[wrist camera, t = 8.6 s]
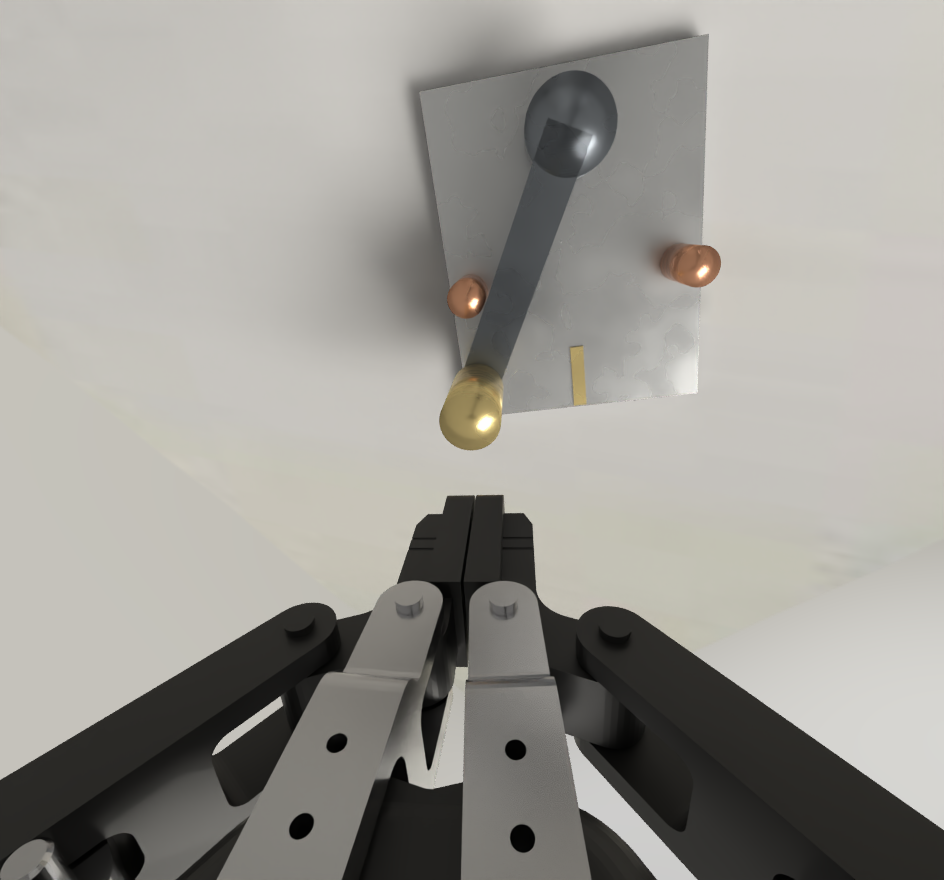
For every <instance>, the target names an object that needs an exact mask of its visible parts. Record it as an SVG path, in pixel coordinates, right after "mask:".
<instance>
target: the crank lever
mask: <svg viewBox="0 0 944 880" xmlns="http://www.w3.org/2000/svg"><path fill="white" fill-rule="evenodd" d="M617 123H618V116H617V107H616V104H615V100H614V98H613V95H612V93H611V92H610V90H609V88H608V87H607V86H606V84H605V83H604V82H603V81H602V80H601V79H599V78H598V77H596V76H595V75H593V74H591V73H588V72H585V71H579V70H570V71H565V72H562V73H559V74H557V75H555V76H553V77H551V78H550V79H549V80H547V81H546V82H545V83H544V84H543V85H542V86H541V87H540V88H539V89H538V90H537V92H536V93H535V95H534V96H533V98H532V100H531V102H530V104H529V107H528V109H527V113H526V117H525V124H524V146H525V150H526V153H527V156H528V158H529V161H530V162H531V164H532V166H531V169H530V172H529V175H528V178H527V181H526V184H525V187H524V190H523V193H522V196H521V199H520V202H519V205H518V208H517V211H516V214H515V217H514V220H513V223H512V226H511V229H510V232H509V235H508V238H507V241H506V244H505V247H504V250H503V253H502V256H501V259H500V262H499V265H498V268H497V271H496V274H495V277H494V280H493V283H492V286H491V289H490V292H489V295H488V298H487V301H486V304H485V307H484V310H483V313H482V316H481V319H480V322H479V325H478V328H477V331H476V334H475V337H474V340H473V343H472V346H471V349H470V352H469V355H468V358H467V361H466V364H465V367H464V368H462V369H461V370H460V371H459V372H458V373H457V375H456V376H455V378H454V381H453V383H452V386H451V388H450V391H449V393H448V396H447V398H446V401H445V403H444V405H443V408H442V410H441V413H440V419H439V422H440V428H441V431H442V433H443V435H444V436H445V438H446V439H447V440H448V441H449V442H450V443H451V444H453V445H454V446H456V447H458V448H460V449H464V450H478V449H482V448H484V447H486V446H488V445H489V444H491V443H492V442H493V441H494V440H495V439H496V437H497V436H498V433H499V431H500V427H501V416H502V402H503V382H502V378H503V376H504V373H505V370H506V368H507V365H508V362H509V360H510V357H511V354H512V352H513V349H514V346H515V343H516V341H517V338H518V335H519V333H520V330H521V327H522V325H523V322H524V319H525V317H526V314H527V311H528V308H529V306H530V303H531V300H532V298H533V295H534V292H535V290H536V287H537V284H538V282H539V279H540V276H541V273H542V271H543V268H544V265H545V263H546V260H547V257H548V255H549V252H550V249H551V247H552V244H553V241H554V238H555V236H556V233H557V230H558V228H559V225H560V222H561V220H562V217H563V214H564V212H565V209H566V206H567V203H568V201H569V198H570V195H571V193H572V190H573V187H574V185H575V182H576V179H578V178H580V177H582V176H584V175H586V174H587V173H589V172H590V171H591V170H592V169H594V168H595V167H596V166H597V165H598V164H599V163H600V162H601V161H602V160H603V159H604V158H605V156H606V155H607V154H608V152H609V150H610V148H611V146H612V144H613V142H614V139H615V135H616V131H617Z"/></svg>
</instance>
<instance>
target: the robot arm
mask: <svg viewBox="0 0 944 880" xmlns="http://www.w3.org/2000/svg"><path fill="white" fill-rule="evenodd" d="M468 660H469V662H468ZM456 667H468V680H466V685H465V721H464V767H463V769H464V770H463V772H464V773H463V782H462V783H458V784H453V785H449V786H445V787H440V788H435V789H434V784H435V779H436V774H437V769H438V765H439V760H440V756H441V751H442V747H443V742H444V737H445V733H446V728H447V724H448V719H449V714H450V710H451V705H452V701H453V691H452V686H453V682H454V676H455V669H456ZM279 696H281V699H282V703H283V706H282V707H281V708H280V709H278V710H277V711H275V712H274V713H273V714H271V715H270V716H269V717H267V718H266V719H264V720H263V721H262V722H260V723H259V724H258V725H256V726H255V727H253V728H252V729H251V730H250V731H248V732H247V733H245V734H244V735H243V736H241V737H240V738H238V739H237V740H236V741H234V742H233V743H232V744H230V745H229V746H228V747H226V748H225V749H223V750H222V751H221V752H219V753H217V754H215V755H213V756H212V753H213V751H214V749H215V747H216V745H217V744H218V743H219V742H220V740H221V739H222V738H223V737H224V736H226V735H227V734H228V733H229V732H231V731H232V730H234V729H235V728H236V727H238V726H239V725H241V724H242V723H243V722H245V721H246V720H248V719H249V718H250V717H252V716H253V715H255V714H256V713H257V712H259V711H260V710H262V709H263V708H264V707H266V706H267V705H269V704H270V703H271V702H273V701H274V700H276V699H277V698H278V697H279ZM565 733H566V734H569V735H571V736H574V739H575V742H576V744H577V746H578V748H579V750H580V751H581V752H582V754H583V755H584V756H585V757H586V758H587V759H588V760H589V761H590V763H591V764H592V765H593V766H594V767H595V768H596V769H597V770H598V771H599V772H600V773H601V774H602V776H604V778H605V779H606V780H607V781H608V782H609V783H610V784H611V785H612V787H613V788H614V789H615V790H616V791H617V792H618V793H619V794H620V795H621V796H622V798H624V800H625V801H626V802H627V803H628V804H629V805H630V806H631V807H632V808H633V809H634V811H635V812H636V813H637V814H638V815H639V816H640V817H641V818H642V819H643V820H644V822H646V824H647V825H648V826H649V827H650V828H651V829H652V830H653V831H654V832H655V834H656V835H657V836H658V837H659V838H660V839H661V840H662V841H663V842H664V843H665V844H666V846H667V847H668V848H669V849H670V850H671V851H672V852H673V853H674V854H675V855H676V857H678V859H679V860H680V861H681V862H682V863H683V864H684V865H685V866H686V867H687V868H688V870H689V871H690V872H691V873H692V874H693V875H694V876H695V877H696V878H697V879H698V880H944V830H943V829H941V828H940V827H938V826H937V825H936V824H934V823H933V822H931V821H930V820H929V819H927V818H925V817H924V816H923V815H921V814H920V813H918V812H917V811H916V810H914V809H913V808H912V807H910V806H909V805H907V804H906V803H904V802H903V801H901V800H900V799H899V798H897V797H896V796H894V795H893V794H892V793H890V792H889V791H887V790H886V789H884V788H883V787H881V786H880V785H879V784H877V783H876V782H875V781H873V780H872V779H870V778H869V777H867V776H866V775H864V774H863V773H862V772H860V771H859V770H857V769H856V768H855V767H853V766H852V765H850V764H849V763H847V762H846V761H845V760H843V759H842V758H840V757H839V756H838V755H836V754H834V753H833V752H832V751H830V750H829V749H828V748H826V747H825V746H823V745H822V744H820V743H819V742H817V741H816V740H815V739H813V738H812V737H811V736H809V735H808V734H806V733H805V732H803V731H802V730H801V729H799V728H798V727H796V726H795V725H793V724H792V723H791V722H789V721H788V720H786V719H785V718H784V717H782V716H781V715H779V714H778V713H776V712H775V711H774V710H772V709H771V708H769V707H768V706H766V705H765V704H764V703H762V702H761V701H759V700H758V699H757V698H755V697H754V696H752V695H751V694H749V693H748V692H747V691H745V690H744V689H742V688H741V687H739V686H738V685H736V684H735V683H734V682H732V681H731V680H730V679H728V678H727V677H725V676H724V675H722V674H721V673H720V672H718V671H717V670H715V669H714V668H712V667H711V666H710V665H708V664H707V663H705V662H704V661H703V660H701V659H700V658H698V657H697V656H695V655H694V654H693V653H691V652H690V651H688V650H687V649H685V648H684V647H683V646H681V645H680V644H678V643H677V642H676V641H674V640H673V639H671V638H670V637H668V636H667V635H666V634H664V633H663V632H661V631H660V630H658V629H657V628H656V627H654V626H653V625H651V624H650V623H648V622H647V621H646V620H644V619H643V618H641V617H640V616H638V615H637V614H635V613H633V612H631V611H629V610H626V609H623V608H619V607H612V606H603V607H597V608H594V609H591V610H589V611H587V612H586V613H584V614H583V615H582V616H581V617H580V619H579V620H577V619H573V618H569V617H566V616H563V615H560V614H558V613H555V612H553V611H552V610H550V609H549V608H547V607H546V606H545V605H544V604H543V603H542V602H541V600H540V599H539V597H538V595H537V592H536V580H535V562H534V545H533V528H532V523H531V522H530V521H529V519H528V518H527V517H526V516H525V514H524V513H505V512H504V495H477V496H476V500H475V496H474V495H469V496H447V499H446V503H445V506H444V510H443V514H428V515H427V516H426V517H425V518H424V519H422V520H421V521H420V522H419V523H418V524H417V525H416V528H415V531H414V534H413V537H412V540H411V543H410V546H409V550H408V552H407V555H406V558H405V561H404V564H403V567H402V570H401V573H400V576H399V579H398V582H397V584H396V585H394V586H392V587H390V588H389V589H387V590H386V591H385V592H384V593H383V594H382V595H381V596H380V597H379V599H378V600H377V602H376V605H375V607H374V609H373V610H372V611H369V612H367V613H364V614H360V615H356V616H352V617H347V618H344V619H339V620H337V619H336V614H335V613H334V611H333V610H332V609H331V608H330V607H329V606H327V605H324V604H321V603H305V604H301V605H297V606H294V607H291V608H289V609H287V610H285V611H284V612H282V613H280V614H278V615H277V616H275V617H273V618H272V619H270V620H268V621H267V622H265V623H263V624H261V625H260V626H258V627H257V628H255V629H253V630H252V631H250V632H248V633H246V634H245V635H243V636H241V637H240V638H238V639H236V640H235V641H233V642H231V643H230V644H228V645H226V646H225V647H223V648H221V649H220V650H218V651H216V652H214V653H213V654H211V655H210V656H208V657H206V658H204V659H203V660H201V661H199V662H198V663H196V664H194V665H193V666H191V667H189V668H188V669H186V670H184V671H183V672H181V673H179V674H178V675H176V676H174V677H173V678H171V679H169V680H168V681H166V682H164V683H163V684H161V685H159V686H157V687H156V688H154V689H152V690H151V691H149V692H147V693H146V694H144V695H143V696H141V697H139V698H137V699H136V700H134V701H132V702H131V703H129V704H127V705H125V706H124V707H122V708H120V709H119V710H117V711H115V712H114V713H112V714H110V715H109V716H107V717H105V718H104V719H102V720H100V721H99V722H97V723H95V724H94V725H92V726H90V727H89V728H87V729H85V730H84V731H82V732H80V733H78V734H77V735H75V736H74V737H72V738H70V739H68V740H67V741H65V742H63V743H62V744H60V745H58V746H57V747H55V748H53V749H52V750H50V751H48V752H47V753H45V754H43V755H42V756H40V757H38V758H37V759H35V760H33V761H31V762H30V763H28V764H26V765H25V766H23V767H21V768H20V769H18V770H17V771H15V772H13V773H11V774H10V775H8V776H6V777H5V778H3V779H1V780H0V880H657V879H656V878H655V877H654V876H653V874H652V873H651V872H650V871H649V869H648V868H647V867H646V866H645V865H644V863H643V862H642V861H641V859H640V858H639V857H638V856H637V855H636V853H635V852H634V851H633V850H632V849H631V848H630V847H629V845H628V844H626V842H624V841H623V840H622V839H621V838H620V837H619V836H618V835H617V834H616V833H615V832H614V831H613V830H612V829H610V828H609V827H608V826H607V825H605V824H604V823H602V821H600V820H598V819H597V818H595V817H594V816H592V815H591V814H589V813H587V812H586V811H583V810H581V809H580V808H579V807H578V802H577V796H576V791H575V785H574V780H573V774H572V769H571V763H570V757H569V752H568V746H567V741H566V735H565Z"/></svg>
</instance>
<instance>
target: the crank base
mask: <svg viewBox="0 0 944 880" xmlns="http://www.w3.org/2000/svg"><path fill="white" fill-rule="evenodd" d="M708 39H709V34H706V35H701V36H696V37H691V38H686V39H681V40H676V41H671V42H666V43H661V44H656V45H651V46H646V47H641V48H636V49H631V50H626V51H621V52H616V53H611V54H606V55H601V56H596V57H591V58H586V59H581V60H576V61H571V62H566V63H561V64H556V65H551V66H546V67H541V68H536V69H531V70H526V71H521V72H516V73H511V74H506V75H500V76H495V77H490V78H485V79H480V80H475V81H470V82H465V83H460V84H455V85H450V86H445V87H440V88H435V89H430V90H425V91H420V92H419V95H420V101H421V107H422V114H423V120H424V127H425V133H426V139H427V146H428V152H429V159H430V165H431V171H432V178H433V184H434V191H435V197H436V203H437V210H438V216H439V223H440V229H441V235H442V242H443V248H444V255H445V261H446V267H447V274H448V280H449V287H450V290H449V292H448V296H447V302H448V306H449V308H450V310H451V311H452V313H453V314H454V318H455V325H456V331H457V338H458V344H459V350H460V357H461V363H462V368H464V367H465V364H466V361H467V358H468V355H469V352H470V349H471V346H472V343H473V340H474V337H475V334H476V331H477V328H478V325H479V322H480V319H481V316H482V313H483V310H484V307H485V304H486V301H487V298H488V295H489V292H490V289H491V286H492V283H493V280H494V277H495V274H496V271H497V268H498V265H499V262H500V259H501V256H502V253H503V250H504V247H505V244H506V241H507V238H508V235H509V232H510V229H511V226H512V223H513V220H514V217H515V214H516V211H517V208H518V205H519V202H520V199H521V196H522V193H523V190H524V187H525V184H526V181H527V178H528V175H529V172H530V169H531V166H532V164H531V162H530V161H529V158H528V156H527V153H526V150H525V146H524V124H525V117H526V113H527V109H528V107H529V104H530V102H531V100H532V98H533V96H534V95H535V93H536V92H537V90H538V89H539V88H540V87H541V86H542V85H543V84H544V83H545V82H546V81H547V80H549V79H550V78H551V77H553V76H555V75H557V74H559V73H562V72H565V71H570V70H579V71H585V72H588V73H591V74H593V75H595V76H596V77H598V78H599V79H601V80H602V81H603V82H604V83H605V84H606V86H607V87H608V88H609V90H610V92H611V93H612V95H613V98H614V100H615V104H616V107H617V116H618V123H617V131H616V135H615V139H614V142H613V144H612V146H611V148H610V150H609V152H608V154H607V155H606V156H605V158H604V159H603V160H602V161H601V162H600V163H599V164H598V165H597V166H596V167H595V168H594V169H592V170H591V171H590V172H589V173H587V174H586V175H584V176H582V177H580V178H578V179H576V182H575V185H574V187H573V190H572V193H571V195H570V198H569V201H568V203H567V206H566V209H565V212H564V214H563V217H562V220H561V222H560V225H559V228H558V230H557V233H556V236H555V238H554V241H553V244H552V247H551V249H550V252H549V255H548V257H547V260H546V263H545V265H544V268H543V271H542V273H541V276H540V279H539V282H538V284H537V287H536V290H535V292H534V295H533V298H532V300H531V303H530V306H529V308H528V311H527V314H526V317H525V319H524V322H523V325H522V327H521V330H520V333H519V335H518V338H517V341H516V343H515V346H514V349H513V352H512V354H511V357H510V360H509V362H508V365H507V368H506V370H505V373H504V376H503V378H502V382H503V402H502V414H510V413H519V412H529V411H538V410H547V409H556V408H566V407H575V406H584V405H593V404H602V403H612V402H621V401H630V400H639V399H648V398H658V397H667V396H676V395H685V394H694V393H697V385H698V354H699V322H700V291H701V287H703V286H705V285H707V284H709V283H711V282H712V281H713V280H714V279H715V278H716V276H717V275H718V273H719V270H720V267H721V259H720V256H719V254H718V252H717V251H716V250H715V249H714V248H712V247H710V246H706V245H702V228H703V196H704V165H705V133H706V102H707V70H708Z"/></svg>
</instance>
